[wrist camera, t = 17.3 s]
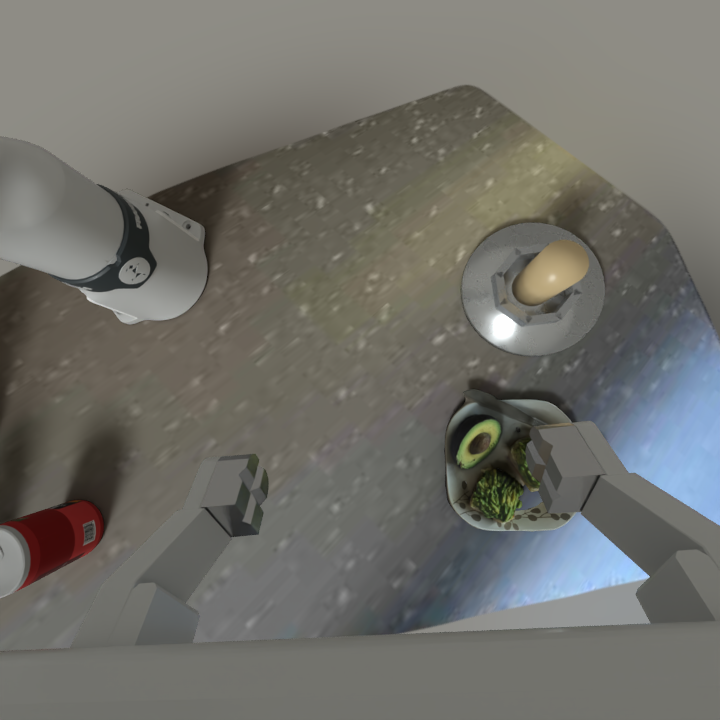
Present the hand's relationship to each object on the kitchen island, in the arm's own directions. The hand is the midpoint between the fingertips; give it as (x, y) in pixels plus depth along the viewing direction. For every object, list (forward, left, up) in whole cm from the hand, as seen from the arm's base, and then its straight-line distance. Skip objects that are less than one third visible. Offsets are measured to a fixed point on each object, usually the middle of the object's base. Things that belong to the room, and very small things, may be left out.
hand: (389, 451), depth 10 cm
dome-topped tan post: (+4, +23, -36) cm, 43 cm away
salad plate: (+15, +3, -38) cm, 41 cm away
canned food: (-25, -43, -37) cm, 62 cm away
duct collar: (+4, +23, -37) cm, 44 cm away
